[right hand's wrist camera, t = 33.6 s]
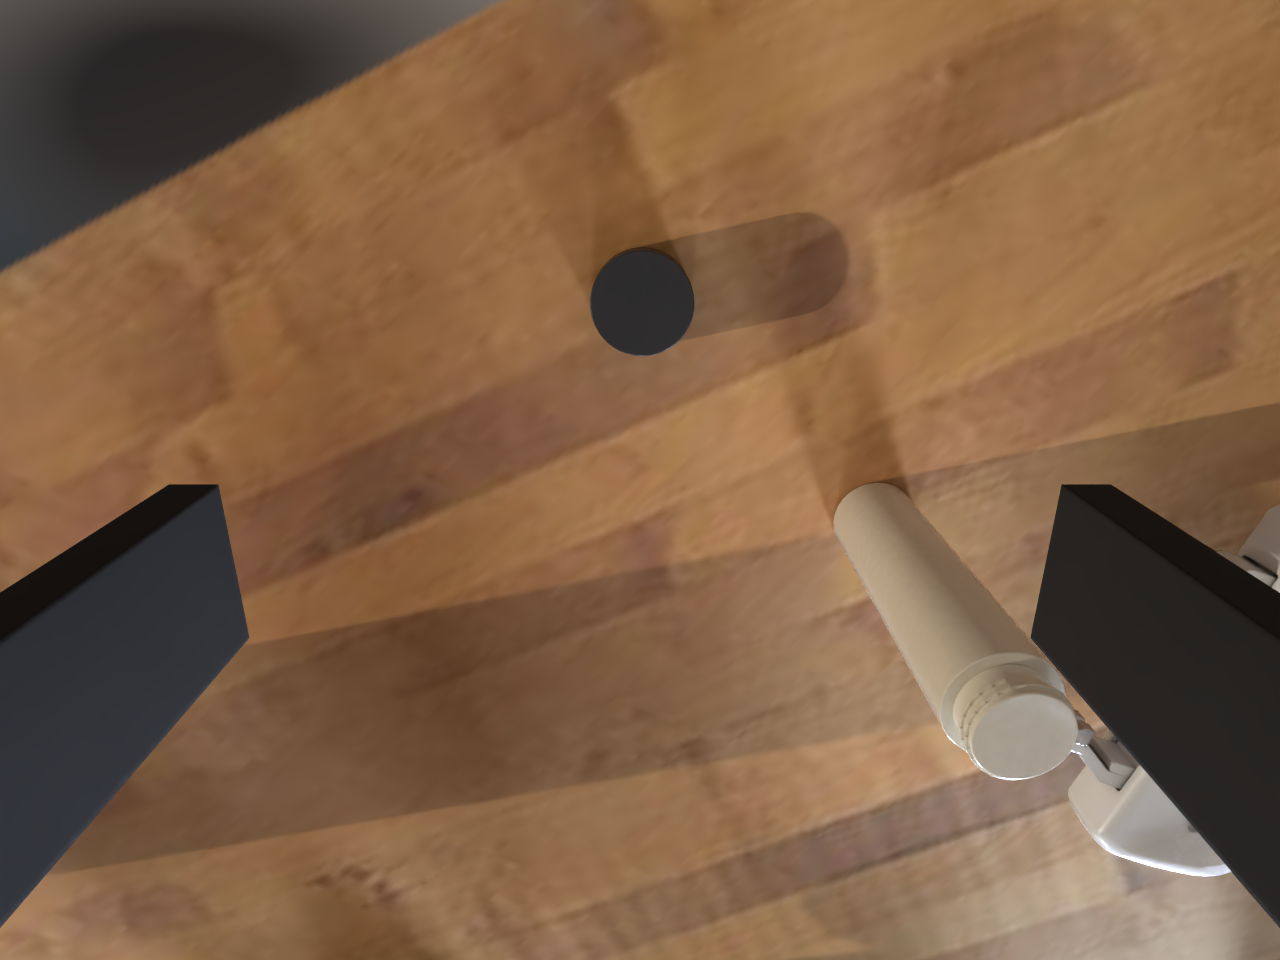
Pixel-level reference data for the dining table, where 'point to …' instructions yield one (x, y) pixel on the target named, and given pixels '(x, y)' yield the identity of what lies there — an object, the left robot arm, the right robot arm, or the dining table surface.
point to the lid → (642, 302)
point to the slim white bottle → (957, 638)
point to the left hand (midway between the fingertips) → (1099, 648)
